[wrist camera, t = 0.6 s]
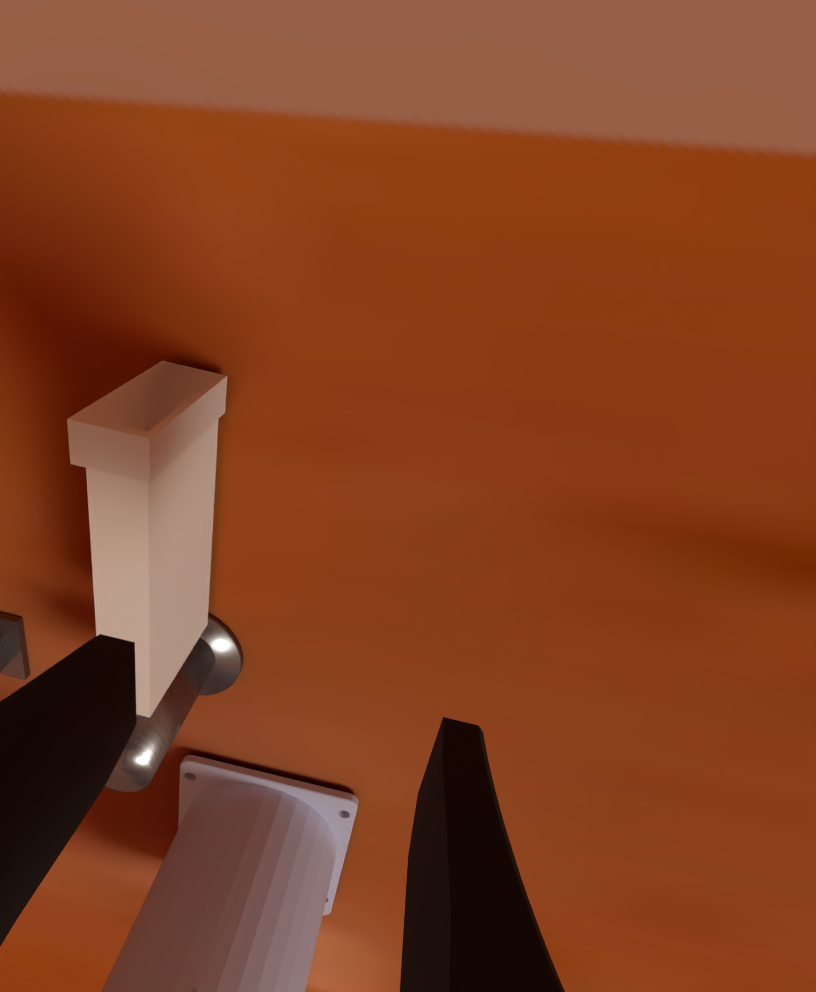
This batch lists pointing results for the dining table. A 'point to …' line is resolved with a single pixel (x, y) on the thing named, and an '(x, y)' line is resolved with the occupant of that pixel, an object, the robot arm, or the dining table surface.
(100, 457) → the lipped cream column
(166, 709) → the pivot post
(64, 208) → the dining table surface
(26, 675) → the latch block
